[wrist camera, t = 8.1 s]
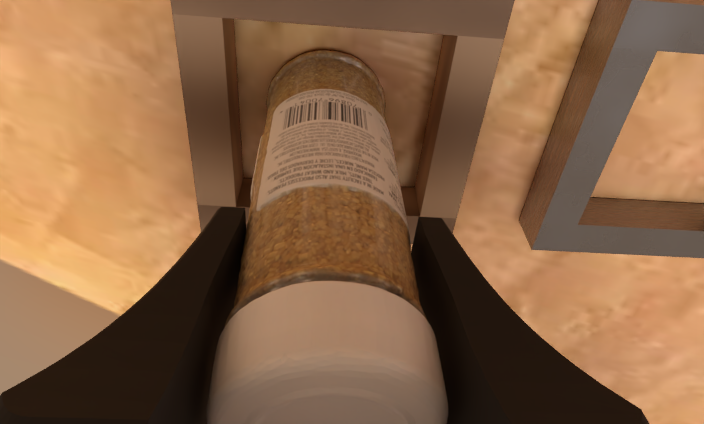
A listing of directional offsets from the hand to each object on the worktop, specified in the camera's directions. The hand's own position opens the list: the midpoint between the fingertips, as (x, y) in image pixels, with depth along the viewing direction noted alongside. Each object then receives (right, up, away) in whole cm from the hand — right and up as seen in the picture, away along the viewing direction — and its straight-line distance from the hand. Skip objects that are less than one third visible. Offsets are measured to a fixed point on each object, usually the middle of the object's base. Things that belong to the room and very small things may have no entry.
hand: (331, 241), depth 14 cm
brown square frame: (0, +5, +6) cm, 8 cm away
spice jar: (0, +5, +6) cm, 8 cm away
